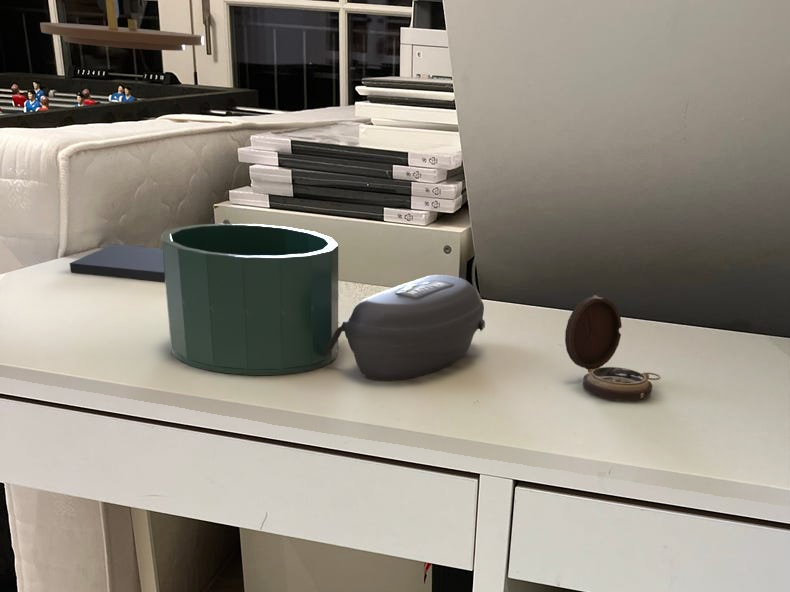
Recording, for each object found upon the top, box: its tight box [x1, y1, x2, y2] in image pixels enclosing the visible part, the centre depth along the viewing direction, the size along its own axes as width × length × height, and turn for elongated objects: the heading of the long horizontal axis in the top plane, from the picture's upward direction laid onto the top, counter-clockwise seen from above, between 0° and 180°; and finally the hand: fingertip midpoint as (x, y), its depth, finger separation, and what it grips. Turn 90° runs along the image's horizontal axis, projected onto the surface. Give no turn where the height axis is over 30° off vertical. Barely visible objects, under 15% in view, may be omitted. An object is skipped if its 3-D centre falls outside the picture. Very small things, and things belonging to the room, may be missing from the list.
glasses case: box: [324, 274, 486, 381], centre depth 88 cm, size 18×10×8 cm, turn 154°
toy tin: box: [160, 223, 339, 376], centre depth 86 cm, size 15×15×10 cm
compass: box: [564, 295, 661, 401], centre depth 86 cm, size 8×8×7 cm
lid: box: [39, 0, 205, 52], centre depth 99 cm, size 16×16×6 cm
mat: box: [69, 243, 165, 283], centre depth 113 cm, size 12×12×1 cm
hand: (122, 17), depth 99 cm, fingers closed on lid, 1 cm apart
